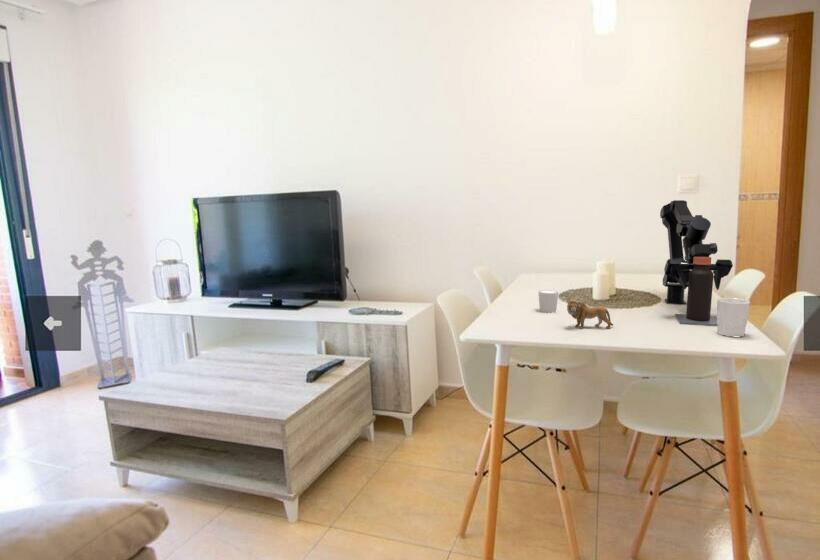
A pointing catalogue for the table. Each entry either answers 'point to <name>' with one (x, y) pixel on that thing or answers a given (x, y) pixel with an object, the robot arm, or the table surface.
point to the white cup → (732, 316)
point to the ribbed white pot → (548, 301)
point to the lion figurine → (587, 313)
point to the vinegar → (700, 290)
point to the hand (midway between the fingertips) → (701, 288)
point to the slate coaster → (684, 320)
